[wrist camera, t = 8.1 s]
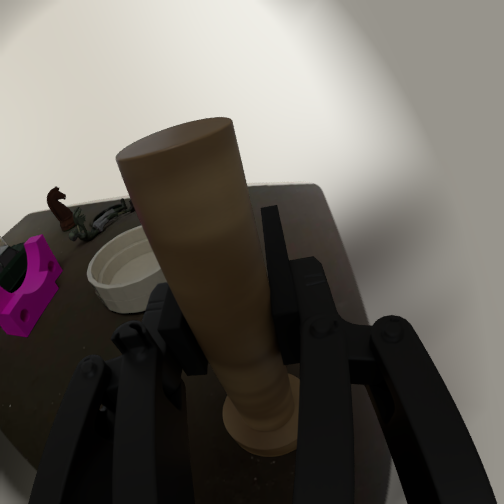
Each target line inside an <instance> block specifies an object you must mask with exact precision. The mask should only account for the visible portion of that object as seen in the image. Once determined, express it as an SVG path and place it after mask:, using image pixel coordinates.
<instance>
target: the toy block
mask: <svg viewBox="0 0 504 504" xmlns="http://www.w3.org/2000/svg"><path fill="white" fill-rule="evenodd" d="M24 247H25V250H26V253H27V262H28V265H27V273H26V277H25V280H24V282H23V284H22V285H21V287H20V288H19V289H18V290H17V291H15V292H14V293H9V292H7V291H6V290H4V289H3V288H2V287H1V286H0V326H1V327H2V329H3V330H4V331H5V332H6V333H7V334H10V335H16V336H22V337H28V335H29V334H30V332H31V330H32V329H33V327H34V325H35V324H36V322H37V321H38V319H39V317H40V316H41V314H42V313H43V311H44V310H45V308H46V307H47V305H48V304H49V302H50V300H51V299H52V298H53V296H54V295H55V293H56V292H57V290H58V289H59V288H58V286H57V285H56V283H55V280H56V279H57V278H58V276H59V275H60V274H61V272H62V271H63V270H62V269H61V267H60V265H59V263H58V262H57V260H56V258H55V256H54V255H53V253H52V251H51V249H50V247H49V246H48V244H47V242H46V240H45V238H44V236H43V234H42V235H38V236H34V237H30V238H29V239H28V240H27V241H26V242H25V244H24Z"/></svg>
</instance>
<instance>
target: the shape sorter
mask: <svg viewBox="0 0 504 504" xmlns="http://www.w3.org/2000/svg"><path fill="white" fill-rule="evenodd" d="M4 245H7V244H6V243H5V241H4V240H3V239H2V238H1V237H0V247H1V246H4Z"/></svg>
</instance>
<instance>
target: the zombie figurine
mask: <svg viewBox="0 0 504 504" xmlns="http://www.w3.org/2000/svg"><path fill="white" fill-rule="evenodd" d="M129 202H130V204H131V207H130V209H128V210H125V211H122V212H118V211H120V210H121V209H127V207H126V204H125V201H124V199H123V198H122V199H121V203H122V207H120V208H117V209H114V210H113V209H111V210H109V211H108V212H106V213H105V214H104V215H103V216H101V217H100V218H99V219H98V220H96V221H95V222H94V224H93V227H92V230H91V232H89V231H87V230H86V228H85V226H84V224H83V222H84V221H85V218H84V217H85V216H84V215H81V216H80V217H79V215H80V213H81V209H79V207H77V208H76V209H75V210H74V213H73V219H74V223H75V224H76V226H77V229H74V230H71V232H70V234H69V239H70V240H72V241H75V240H76V239H77V237H79V239H80V240H84V241H86V240H92V239H93V238H94V237H95V236H96V235H97V234H98V233H100V232H101V231H103V226H104V225H105V223H106V222H108V220H109V219H110V218H112V217H115V216H118V215H119V214H125V213H127V212H129V211H130V212H132V211H134V210H135V208H134V206H133V203H132V201H131V200H130V201H129ZM78 209H79V210H78ZM82 216H84V217H82ZM81 217H82V218H81ZM106 217H107V218H106ZM78 224H79V225H78ZM80 227H81V228H80ZM82 230H84V232H85V233H82V232H81V231H82Z"/></svg>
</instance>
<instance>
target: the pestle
mask: <svg viewBox="0 0 504 504" xmlns="http://www.w3.org/2000/svg"><path fill="white" fill-rule="evenodd" d="M116 162H117V164H118V167H119V170H120V172H121V175H122V178H123V180H124V183H125V186H126V188H127V191H128V193H129V196H130V198H131V201H132V203H133V206H134V208H135V211H136V213H137V216H138V218H139V221H140V223H141V225H142V228H143V230H144V232H145V235H146V237H147V239H148V242H149V244H150V246H151V248H152V251H153V253H154V255H155V257H156V259H157V262H158V264H159V266H160V268H161V270H162V272H163V275H164V277H165V279H166V281H167V283H168V285H169V287H170V289H171V291H172V293H173V295H174V297H175V299H176V301H177V303H178V305H179V307H180V309H181V311H182V313H183V315H184V317H185V319H186V321H187V323H188V325H189V327H190V329H191V331H192V333H193V334H194V336H195V338H196V340H197V342H198V344H199V346H200V347H201V349H202V351H203V353H204V355H205V357H206V358H207V360H208V362H209V364H210V365H211V367H212V369H213V371H214V372H215V374H216V376H217V378H218V379H219V381H220V383H221V385H222V386H223V388H224V390H225V391H226V393H227V397H226V400H225V402H224V406H223V421H224V424H225V427H226V429H227V431H228V432H229V434H230V435H231V436H232V437H233V439H234V440H235V441H236V442H237V443H238V444H239V445H240V446H241V447H242V448H243V449H245V450H246V451H248V452H250V453H252V454H255V455H258V456H264V457H275V456H281V455H284V454H287V453H289V452H292V451H293V450H295V449H297V433H298V412H299V385H300V379H298V378H297V377H295V376H293V375H291V374H289V373H288V371H287V367H286V365H283V361H282V356H281V352H280V347H279V343H278V338H277V334H276V330H275V325H274V321H273V316H272V308H271V298H270V287H269V282H268V278H267V273H266V269H265V264H264V259H263V255H262V250H261V246H260V241H259V237H258V232H257V228H256V223H255V219H254V214H253V210H252V205H251V201H250V196H249V192H248V188H247V183H246V179H245V174H244V170H243V165H242V161H241V157H240V153H239V148H238V144H237V139H236V135H235V131H234V126H233V122H232V120H231V119H230V118H225V117H215V118H206V119H201V120H196V121H191V122H187V123H183V124H180V125H176V126H173V127H170V128H167V129H164V130H161V131H159V132H156V133H154V134H151V135H149V136H147V137H144V138H142V139H140V140H138V141H136V142H134V143H132V144H131V145H129V146H127V147H126V148H124V149H123V150H122V151H120V152H119V153H118V154H117V155H116Z"/></svg>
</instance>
